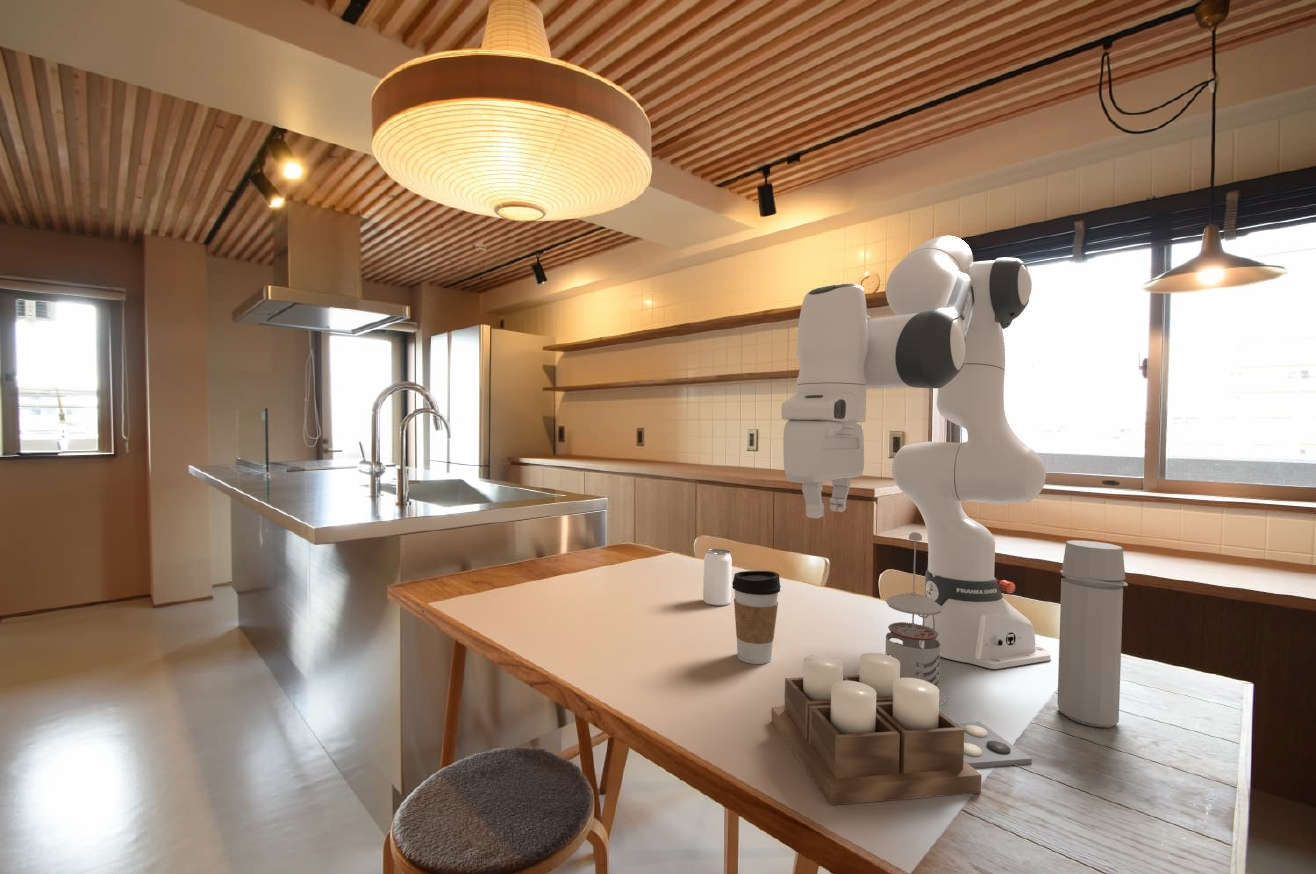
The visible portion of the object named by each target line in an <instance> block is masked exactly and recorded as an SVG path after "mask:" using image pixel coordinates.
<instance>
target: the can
mask: <svg viewBox="0 0 1316 874" xmlns="http://www.w3.org/2000/svg"><path fill="white" fill-rule="evenodd" d="M705 552H706V553H705V555H704V560H703V585H702V586H703V588H702V592H703V593H702V598H703V599H702V600H703V603H705V604H706V605H708V606H714V607H723V606H724V607H725V606H728V605H730V603H731V602H732V575H733V574H732V573H733V572H732V571H733V570H732V566H733V564H732V563H733V562H732V560H733V559H732V556H731V551H730V550H727V549H722V548H710V549H707V550H706V551H705Z"/></svg>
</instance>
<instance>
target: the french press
mask: <svg viewBox="0 0 1316 874" xmlns="http://www.w3.org/2000/svg"><path fill="white" fill-rule="evenodd" d="M908 535H909V536H908V539H909V540H910V541H914V543H913V545H914V549H913V550H914V552H913V579H912V580H913V582H912V583H913V584H912V587H913V588H912V592H905V593H899V594H894V595H892V596H889V597H888V598H887V599H886V600H885V603H886V604H887V605H888V608H891V609H893V610H896V611H899V612H900V613H905V614H910V615H912V616H911V618H912V620H911V622H906V621H905V622H904V621H901V622H900V621H899V622H893V623H891V624H889V625H888V627H887V628H888V630H889V631H890V632H887V633H886V635H885V653H884V654H885V655H889V656H892V657H894V658H896V659H897V660H899V661H900V678H916V679H921V680H924V681H927V682H930V683H932V684H933V685H935V686H936V687H937V688H938V689H939V706H940V705H942V704H945V703H946V702H945V701H946V699H947V698H946V696H945V694H944V693H943V691H942V690H941V689H940V666H941V665H940V663H939V662H940V659H941V657H940V655H939V653H940V643H939V642H938V641H937V640H936V637H937V636H938V633H937V632H936V631H935V620H934V615H936V614H939V613H940V612H941V611H942V609H943V608H942V607H941V606H940V605H939V604H938V603H936V602H935V601H934V600H932V599H931V598H928V597H926V595H924V594H918V593H916V591H915V590H916V589H915V587H916V584H915V582H916V556H917V554H916V552H917V547H916V546H917V541H919V542H920V541H923V535H921V533H920V532H913V531H912V532H911V533H909V534H908ZM915 615H917V616H919V618H922V622H923V625H922V624H919V623H918V624H917V622H916V623H915V620H914V619H915ZM924 615H927V616H924ZM929 615H932V618H933V629H931V628H928V627H927V626H926V627H925V626H924V625H925V621H924V618H928V616H929ZM891 639H896V640H899V641H901V642H902V643H899V642H893V641H892V640H891ZM919 640H921V642H920V645H919ZM922 641H924V649H923V648H921V644H922ZM919 664H921V665H923V667H919V666H920V665H919ZM919 673H920V674H923V675H922V676H921V675H919Z"/></svg>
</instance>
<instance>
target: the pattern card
mask: <svg viewBox="0 0 1316 874" xmlns="http://www.w3.org/2000/svg"><path fill="white" fill-rule="evenodd" d="M955 723H956V724H957V725H959V726H960V727H961V728H963V729H964V758H963V760H964V761H965V762H967V763H968V764H969V765H970V766H971V767H973V768H974V769H975V768H976V769H977V768H986V767H987V768H989V767H1001V766H1002V767H1003V766H1012V765H1027V764H1032V760H1033V759H1032V758H1031V757H1030V756H1029V755H1027V754H1026V753H1025V752H1023V751H1022V750H1021V749H1019V748H1017V747H1016V746H1015V745H1013V744H1012V743H1010V742H1009V741H1008V740H1007V739H1004V737H1002V736H1000V735H999V734H998V733H996V731H995V732H994V731H993V730H992V729H991V728H989V727H988V726H986V725H985V724H983V723H982V722H981V721H970V722H969V721H968V722H955Z"/></svg>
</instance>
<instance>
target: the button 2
mask: <svg viewBox="0 0 1316 874" xmlns="http://www.w3.org/2000/svg"><path fill="white" fill-rule="evenodd" d="M830 724H831V725H832V726H833V727H834V728H835V729H836V730H837V731H838V733H839V734H840V735H845V734H861V733H875V726H876V691H875V690H874V689H873V688H872V687H870V686H868V685H866V684H863V683H860V682H856V681H848V680H843V681H837V682H834V683H833V684H832V686H831V719H830Z"/></svg>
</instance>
